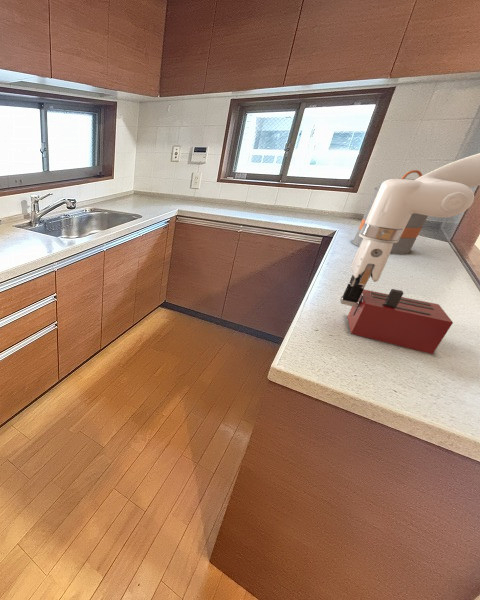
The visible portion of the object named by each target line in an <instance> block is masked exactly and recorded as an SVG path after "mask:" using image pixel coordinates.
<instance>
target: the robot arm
mask: <svg viewBox="0 0 480 600" xmlns="http://www.w3.org/2000/svg"><path fill="white" fill-rule="evenodd" d="M387 179H388V180H386V179H385V180H386V181H384V180H383V181H384V182H383V183H382V185H381V187H380V189H379V191H378V193H377V196H376V198H375V200H374V203H373V205H372V207H371V210H370V212H369V214H368V216H367V219H366V221H365V223H364V225H363V228H362V230H361V232H360V235H359V236H360V237H362V238H363V240H362V242H361V244H360V246H358V249H357V250H356V253H355V256H354V258H353V260H352V263H351V266H350V270H351V273H352V274H351V277H350V280H349V282H348V283H347V286H346V288H345V290H344V292H343V295H342V296H343V299H345V300H350V301H354V302H357V301H358V300H359V298H360V296H361V294H362V292H363V290H365V288H366V285H367V283H368V281H369V280H370V278H371V280H372V282H374V283H377V282H378V281H379V280H380V278H381V276H382V273H383V271H384V269H385V267H386V264H387V262H388V260H389V257H390V254H391V253H390V252H391V249H392V246H393V243H397V242H398V241H399V239H400V237H401V235H402V233H403V231H404V229H405V227H406V225H407V223H408V221H409V219H410V217H411V215H412V214H413V213H416V214H422V215H427V216H428V217H432V218H438V219H439V218H443V219H444V218H451V217H454V216H459V215H460V214H462V213H464V212H465V211H467V210H468V209H469V208H470V207H472V204H473V203H474V201H475V192H474V191H473V189H472V188H474V187H479V186H480V152H478V153H476V154H472V155H469V156H466V157H463V158H460V159H457V160H455V161H452V162H450V163H446V164H445V165H442V166H440V167H438V168H436V169H434V170H432V171H429V172H427V173H424V174H422V176H421V177H419V176H418V177H417V178H414V179H415V180H409V179H410V178H405V179H390V178H387Z"/></svg>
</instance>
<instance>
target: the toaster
mask: <svg viewBox="0 0 480 600" xmlns="http://www.w3.org/2000/svg"><path fill="white" fill-rule="evenodd" d="M388 295H389V293H384V292H379V291H374V290H369V289H364V290H363V292H362V294H361V296H360V298H359V300H358V301H359V305H358V307H354V306H351V308H350V310H349V313H348V315H347V322H348V326H349V331H350V334H351V335H354V336H355V335H356V336H359V337H362V338H367V339H370V340H374V341H379V342H382V343H386V344H390V345H394V346H398V347H402V348H406V349H410V350H414V351H418V352H422V353H426V354H430V355H433V354H434V353H435V352H436V350H437V348H438V347H439V345H440V344H441V342H442V341H443V339H444V337H445V336H446V334H447V333H448V331H450V328H451V327H452V326H453V323H454V322H453V320H452V319H451V318H450V317H449V315H448V314H447V313H446V311H445V310H444V309H443V307H442V306H441V305H440V304H439V303H434V302H429V301H425V300H419V299H415V298H409V297H404V296H402V297H401V299H400V301H399V303H398V305H397V306H396V308H395V307H390V306H386V305H385V301H386V299H387V297H388Z"/></svg>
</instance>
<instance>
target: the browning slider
mask: <svg viewBox="0 0 480 600" xmlns="http://www.w3.org/2000/svg"><path fill="white" fill-rule="evenodd" d="M388 294H389V295H388V297H387V299H386V301H385V305H386V306H390V307H395V308H396V306H397V305H398V303H399V301H400V299H401V297H403V295H404V291H403V290H398V289H396V288H391V289H390V291H389V293H388Z"/></svg>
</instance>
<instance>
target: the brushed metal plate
mask: <svg viewBox="0 0 480 600" xmlns="http://www.w3.org/2000/svg"><path fill="white" fill-rule="evenodd" d="M339 302H340V304H341V305H346V306H349V307H352V306H354V307H358V305H359V301H357V302H354V301H350V300H345V299H343V295H341V297H340V299H339Z"/></svg>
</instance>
